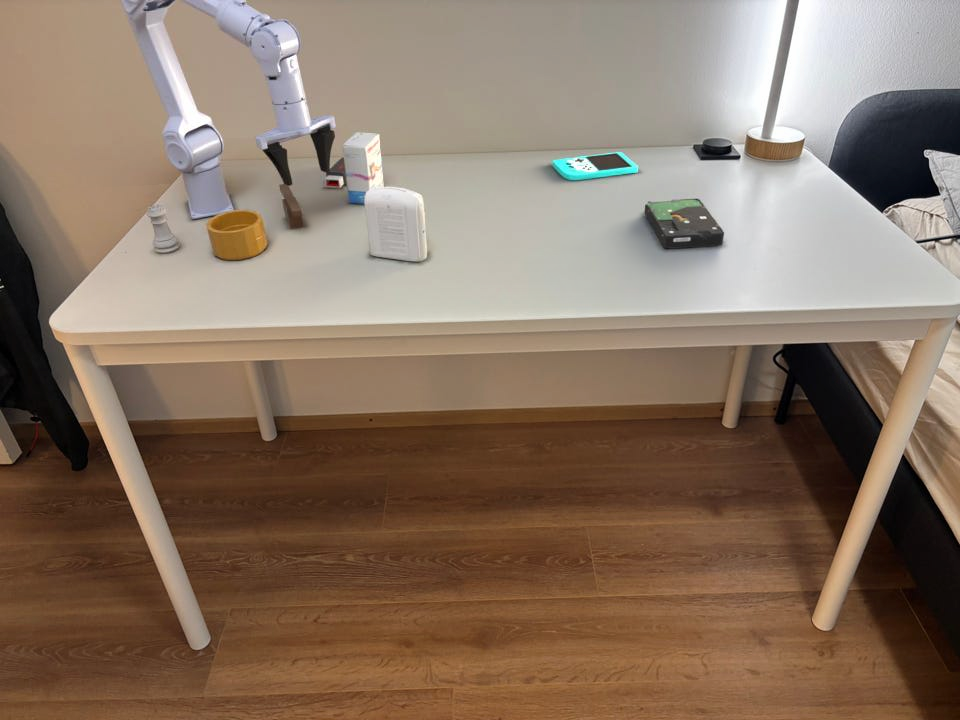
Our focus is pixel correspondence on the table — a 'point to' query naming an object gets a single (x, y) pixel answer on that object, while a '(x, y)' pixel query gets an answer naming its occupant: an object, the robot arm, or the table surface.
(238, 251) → the bowl
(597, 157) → the handheld game console
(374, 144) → the ink box
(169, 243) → the rook chess piece
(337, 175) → the usb drive
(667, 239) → the disk drive
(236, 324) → the table surface
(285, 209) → the tall wooden post
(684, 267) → the table surface
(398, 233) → the photo printer
